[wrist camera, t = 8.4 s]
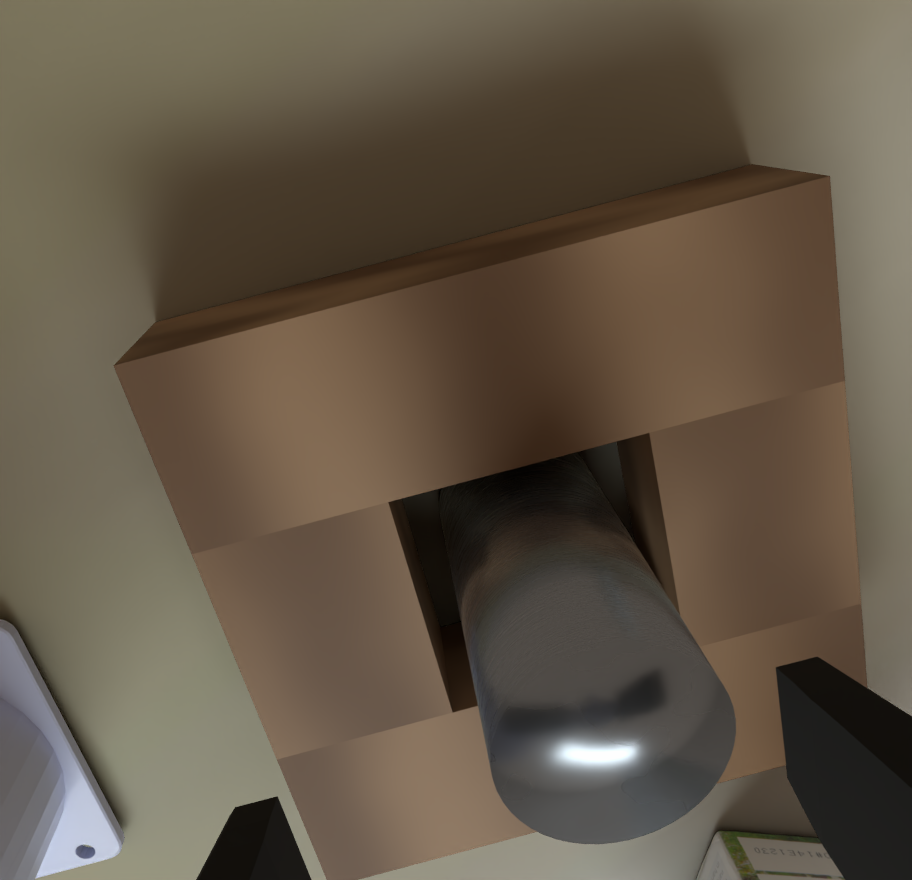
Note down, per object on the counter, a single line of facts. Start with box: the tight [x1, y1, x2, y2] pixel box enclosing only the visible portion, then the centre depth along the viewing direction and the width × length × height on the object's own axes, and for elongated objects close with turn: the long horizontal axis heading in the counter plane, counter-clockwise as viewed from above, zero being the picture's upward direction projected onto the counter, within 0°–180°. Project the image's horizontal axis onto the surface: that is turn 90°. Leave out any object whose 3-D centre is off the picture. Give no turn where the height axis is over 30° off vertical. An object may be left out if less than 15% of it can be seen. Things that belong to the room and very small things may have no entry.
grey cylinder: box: [439, 452, 736, 844], centre depth 18 cm, size 4×4×9 cm
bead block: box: [114, 164, 867, 880], centre depth 20 cm, size 14×14×4 cm
